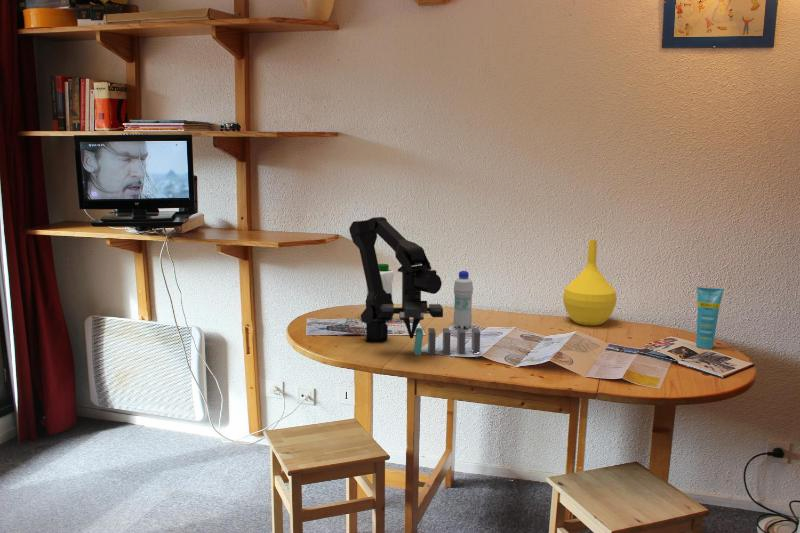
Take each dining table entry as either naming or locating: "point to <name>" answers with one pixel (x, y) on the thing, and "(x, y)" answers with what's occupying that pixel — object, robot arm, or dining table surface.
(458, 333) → the domino
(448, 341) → the domino
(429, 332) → the domino
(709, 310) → the tube
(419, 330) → the domino
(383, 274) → the milk carton
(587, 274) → the vase
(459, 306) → the bottle
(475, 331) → the domino
